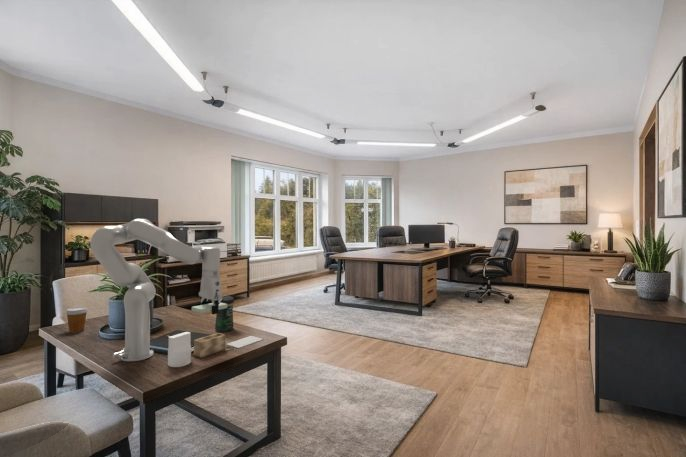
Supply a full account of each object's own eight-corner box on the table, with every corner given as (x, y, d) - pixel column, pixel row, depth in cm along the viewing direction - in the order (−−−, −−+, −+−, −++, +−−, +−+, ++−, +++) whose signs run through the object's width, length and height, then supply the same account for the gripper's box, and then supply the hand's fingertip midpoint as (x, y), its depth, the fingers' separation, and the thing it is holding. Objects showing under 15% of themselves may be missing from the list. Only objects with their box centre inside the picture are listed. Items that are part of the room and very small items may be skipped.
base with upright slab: (176, 368, 146) (177, 339, 146) (163, 364, 150) (163, 335, 150) (195, 361, 154) (195, 333, 154) (181, 357, 158) (182, 330, 158)
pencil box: (200, 357, 158) (200, 342, 158) (194, 355, 161) (194, 339, 161) (225, 349, 169) (225, 334, 169) (218, 347, 171) (218, 332, 171)
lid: (200, 313, 156) (201, 309, 156) (191, 310, 160) (191, 306, 160) (227, 307, 168) (227, 304, 168) (217, 305, 172) (217, 301, 172)
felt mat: (238, 348, 170) (238, 347, 170) (226, 344, 175) (226, 343, 175) (263, 339, 183) (263, 339, 183) (251, 336, 188) (251, 335, 188)
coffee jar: (223, 333, 193) (223, 299, 193) (212, 330, 196) (213, 297, 196) (236, 328, 202) (236, 295, 201) (225, 326, 205) (226, 294, 205)
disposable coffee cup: (70, 329, 195) (70, 307, 194) (90, 327, 198) (90, 306, 197) (62, 334, 186) (62, 311, 185) (83, 332, 188) (83, 310, 188)
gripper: (229, 275, 162) (228, 314, 163) (206, 271, 172) (205, 307, 172) (215, 276, 156) (214, 317, 156) (192, 272, 166) (191, 310, 166)
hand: (209, 312), depth 164 cm, fingers closed on lid, 7 cm apart
